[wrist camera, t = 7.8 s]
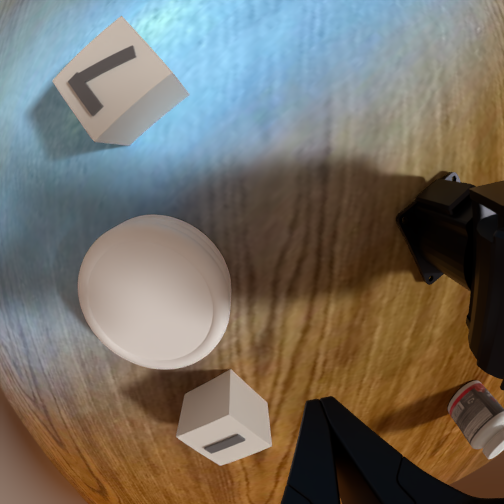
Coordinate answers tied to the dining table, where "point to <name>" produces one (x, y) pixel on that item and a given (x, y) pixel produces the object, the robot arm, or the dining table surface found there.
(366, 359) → the dining table surface
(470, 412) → the pill bottle
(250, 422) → the block one
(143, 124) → the block seven
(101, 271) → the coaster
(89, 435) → the dining table surface
